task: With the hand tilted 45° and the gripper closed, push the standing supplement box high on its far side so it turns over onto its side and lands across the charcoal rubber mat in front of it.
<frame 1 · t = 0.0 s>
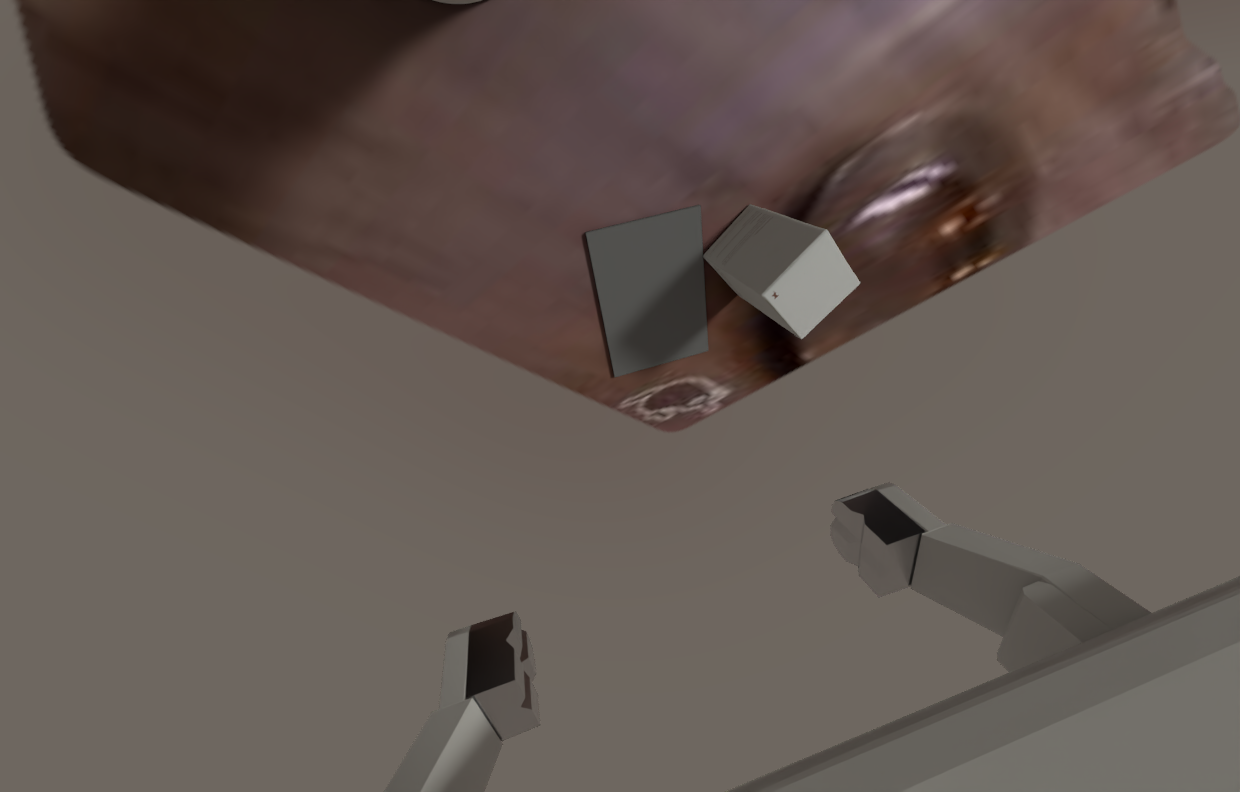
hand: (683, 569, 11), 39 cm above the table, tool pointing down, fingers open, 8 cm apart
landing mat: (652, 297, 50), on the table
supplement box: (743, 250, 50), on the table
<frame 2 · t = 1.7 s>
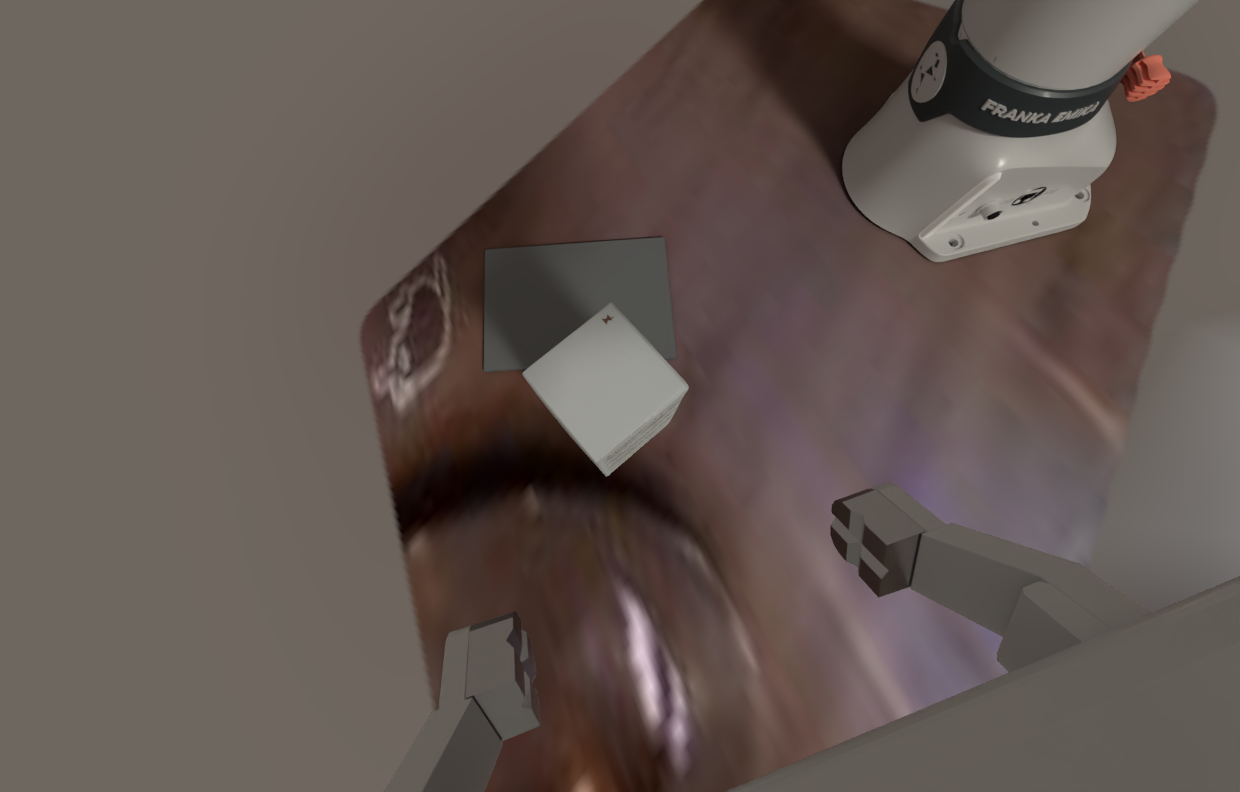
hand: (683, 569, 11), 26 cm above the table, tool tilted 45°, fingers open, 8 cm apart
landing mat: (577, 303, 41), on the table
supplement box: (612, 419, 39), on the table
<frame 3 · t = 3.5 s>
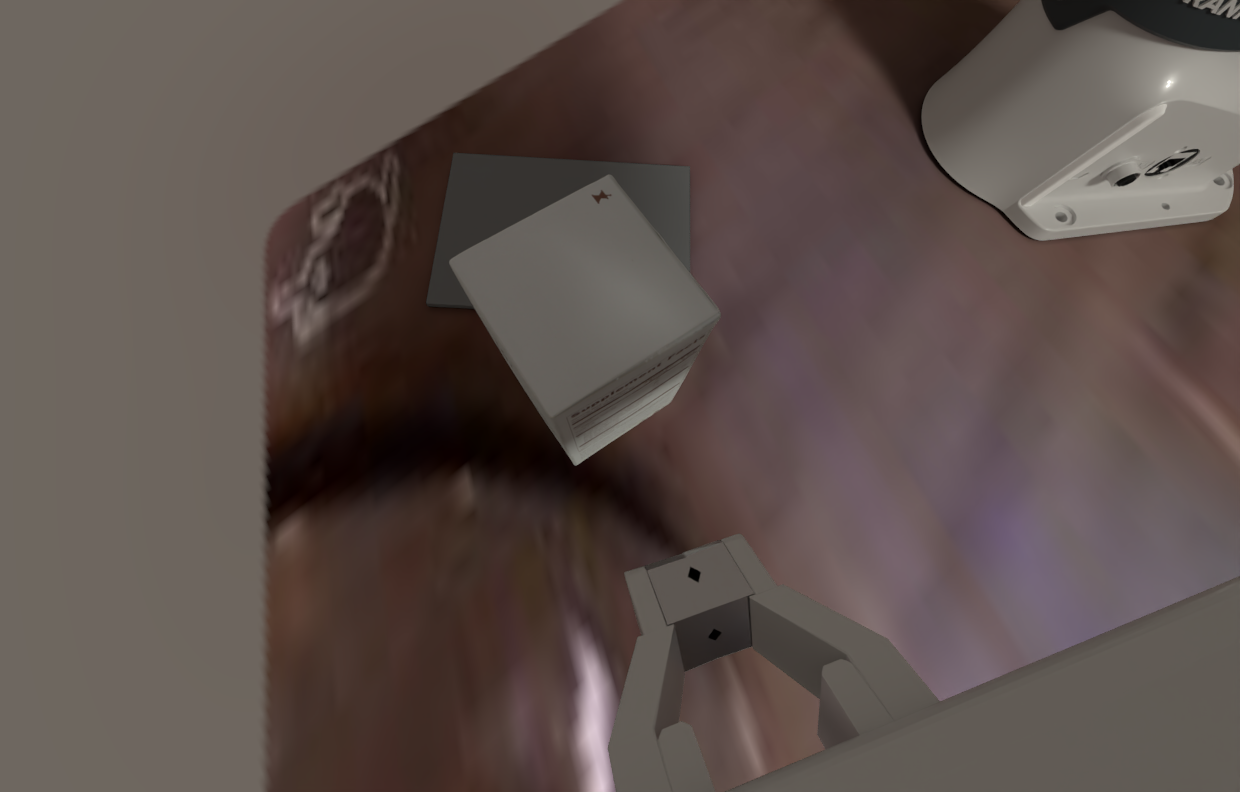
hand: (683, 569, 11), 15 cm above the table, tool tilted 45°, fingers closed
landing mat: (566, 234, 31), on the table
supplement box: (593, 389, 28), on the table
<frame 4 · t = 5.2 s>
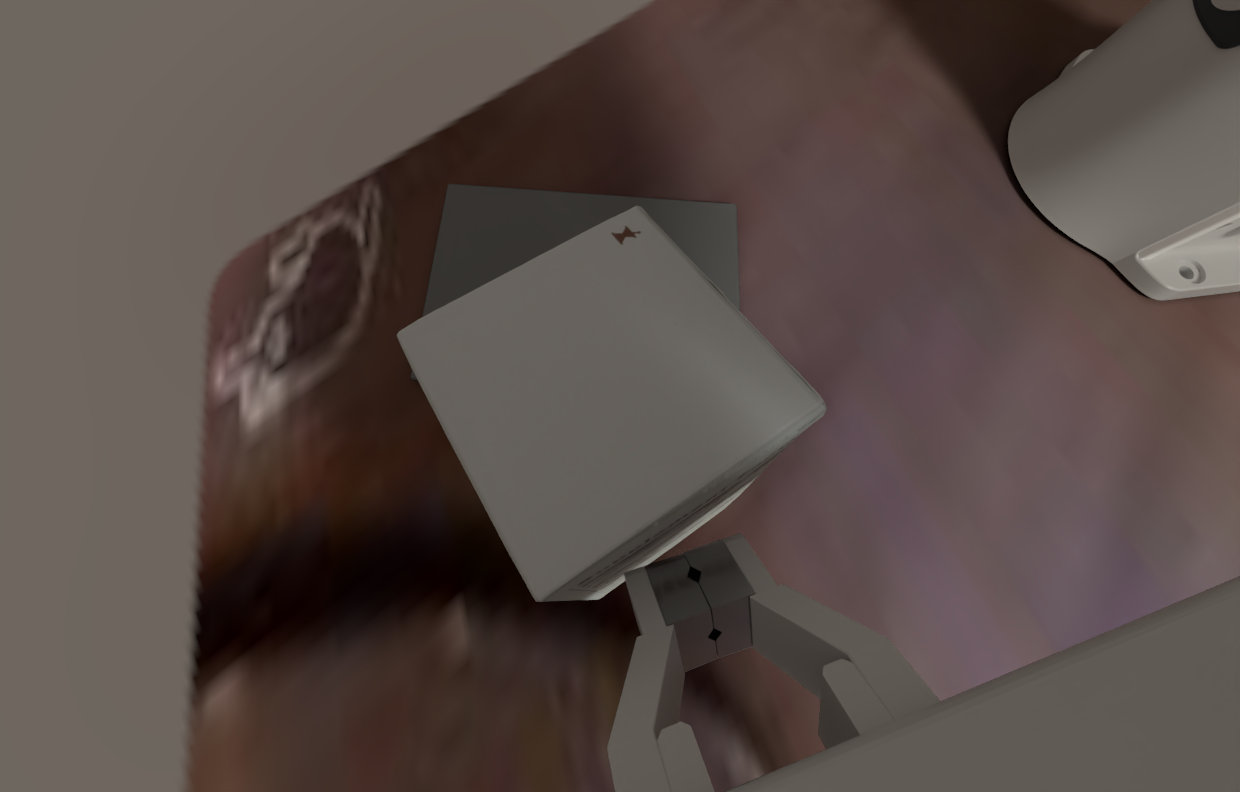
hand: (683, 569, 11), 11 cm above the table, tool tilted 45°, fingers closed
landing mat: (586, 287, 25), on the table
supplement box: (621, 489, 22), on the table, touching gripper
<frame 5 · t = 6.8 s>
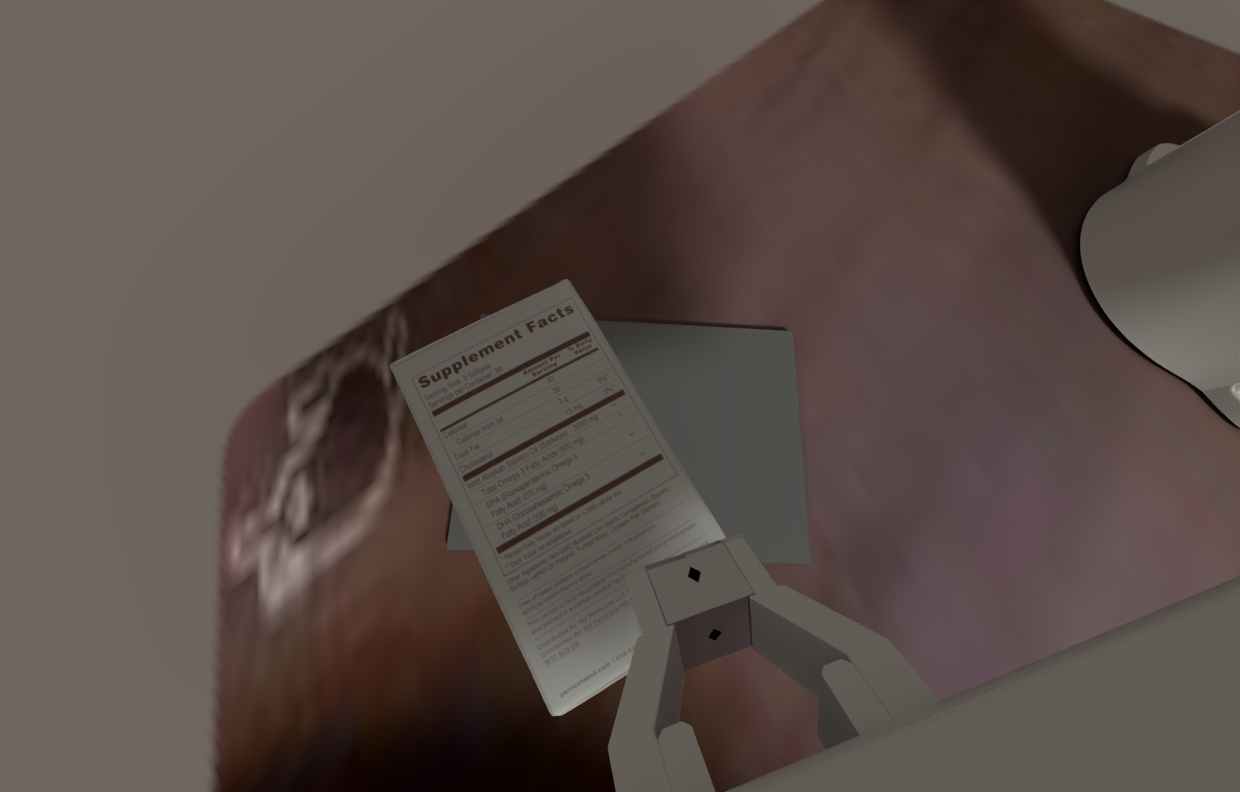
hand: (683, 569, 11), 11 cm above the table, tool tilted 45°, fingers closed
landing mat: (634, 432, 23), on the table
supplement box: (653, 634, 17), point 4 cm above the table, touching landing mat
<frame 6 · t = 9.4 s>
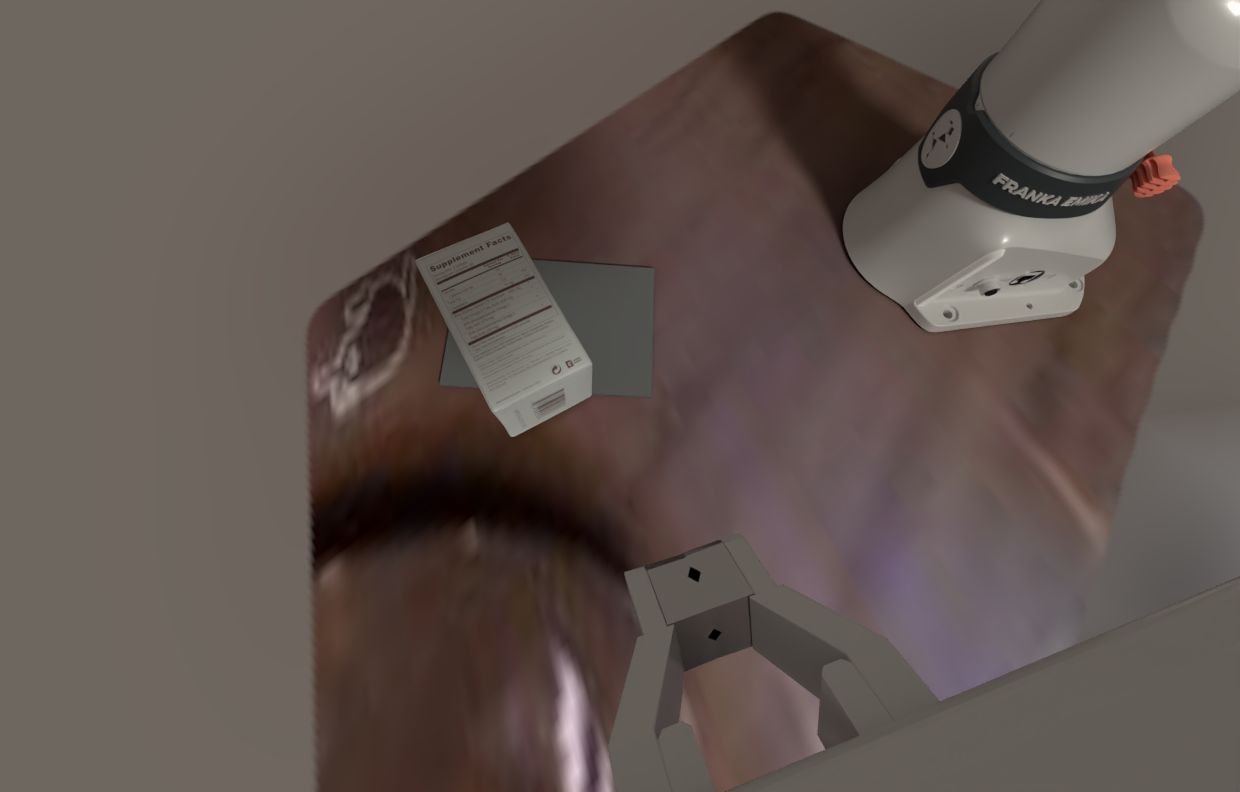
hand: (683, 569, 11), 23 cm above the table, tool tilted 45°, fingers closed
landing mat: (553, 325, 38), on the table
supplement box: (550, 407, 32), point 4 cm above the table, touching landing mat
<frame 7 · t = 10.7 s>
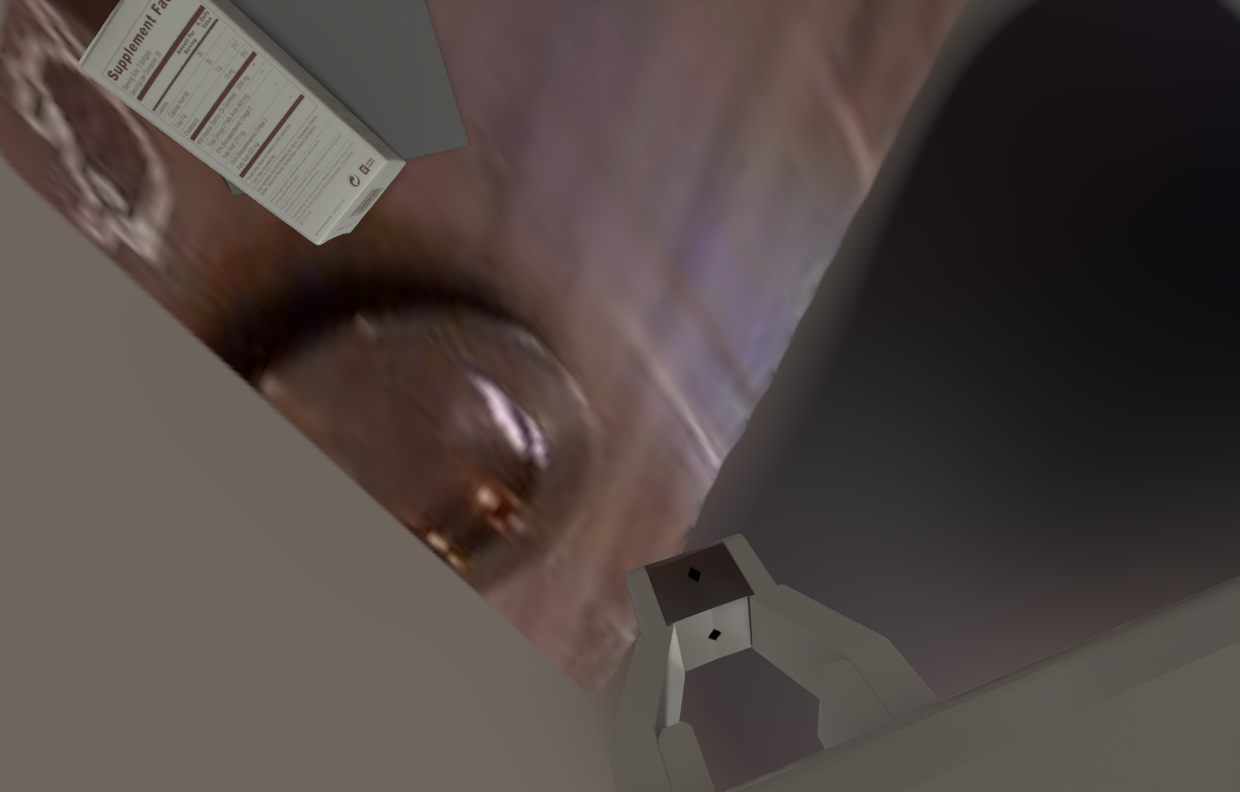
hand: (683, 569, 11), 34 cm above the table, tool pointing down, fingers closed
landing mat: (315, 72, 31), on the table
supplement box: (369, 205, 31), point 4 cm above the table, touching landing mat
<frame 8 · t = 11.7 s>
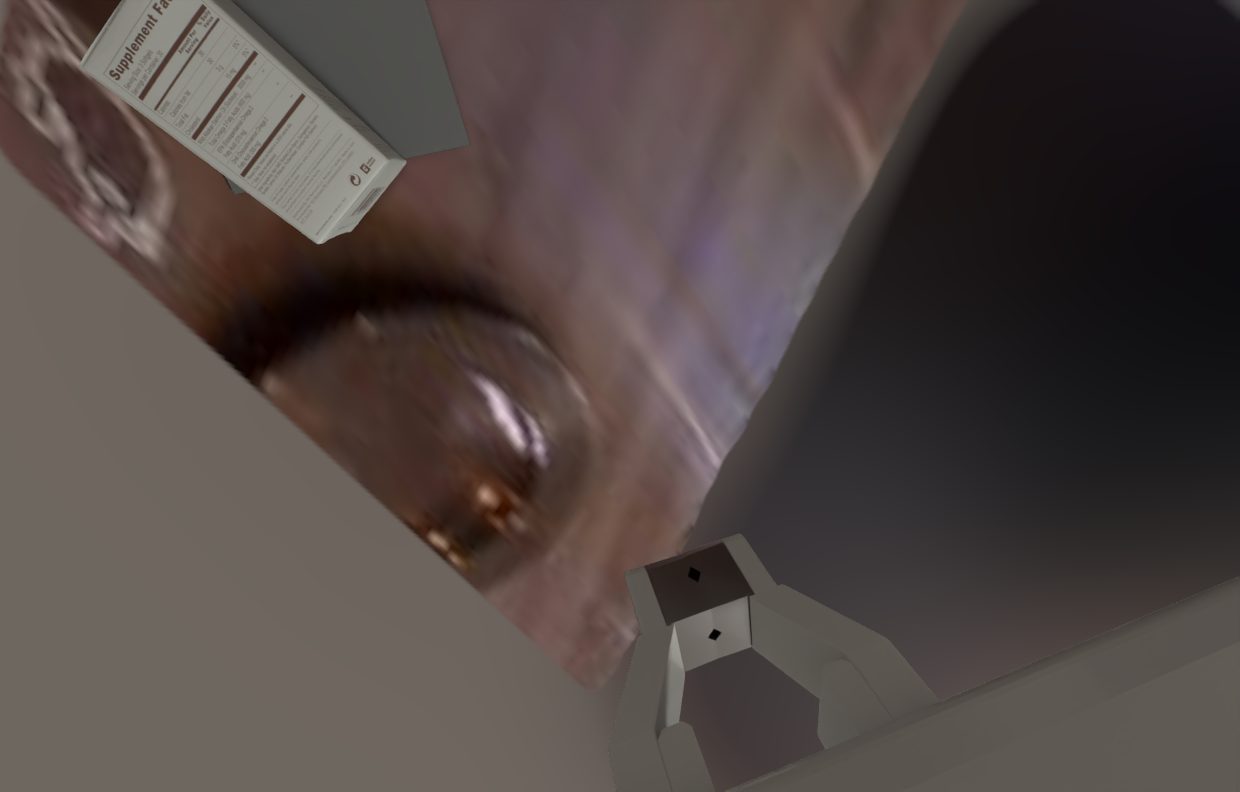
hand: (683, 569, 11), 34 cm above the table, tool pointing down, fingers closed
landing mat: (316, 72, 31), on the table
supplement box: (370, 204, 31), point 4 cm above the table, touching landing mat
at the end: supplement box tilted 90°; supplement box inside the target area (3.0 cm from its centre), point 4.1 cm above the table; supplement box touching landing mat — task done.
